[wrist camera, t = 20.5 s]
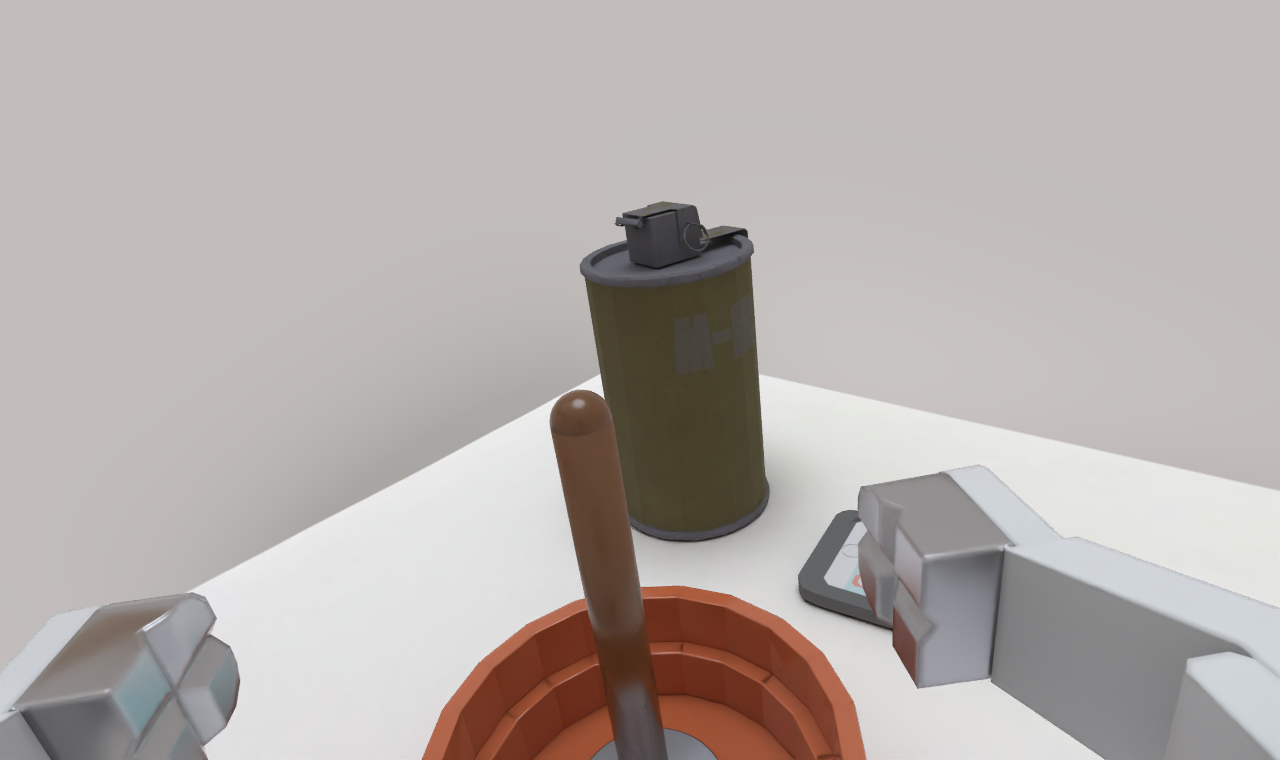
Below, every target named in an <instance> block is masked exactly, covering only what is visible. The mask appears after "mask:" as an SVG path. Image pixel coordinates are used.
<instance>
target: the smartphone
mask: <svg viewBox="0 0 1280 760" xmlns="http://www.w3.org/2000/svg"><path fill="white" fill-rule="evenodd" d="M866 532H867V529H866V527H865V525H864V524H863V522H862V521H861V519H860V518H859V516H858V511H856V510H847V511H842V512H841V513H839V514H837V515H836V516H835V518H834V519H833V521H832V522H831V524H830V526H829V527H828V529H827V530H826V532H825V534H824V535H823V537H822V538H821V540H820V541H819V543H818V545H817V546H816V548H815V549H814V551H813V552H812V554H811V556H810V557H809V559H808V560H807V562H806V564H805V565H804V567H803V568H802V570H801V571H800V573H799V575H798V580H799V590H800V594H801V595H802V597H803V599H805V600H807V601H809V602H811V603H813V604H815V605H818V606H821V607H823V608H826V609H830V610H833V611H836V612H839V613H843V614H846V615H849V616H852V617H855V618H859V619H862V620H865V621H868V622H872V623H875V624H878V625H881V626H885V627H888V628H891V629H893V627H892V626H890V625H888V624H886V623H885V622H883V621H881V620H879V619H877V617H876V615H875V613H874V612H873V610H872V608H871V606H870V604H869V602H868V600H867V597H866V595H865V592H864V589H863V586H862V581H861V576H860V572H859V567H858V543H859V542H860V540H861V539H862V537H863V536H864V535H865V533H866Z"/></svg>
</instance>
